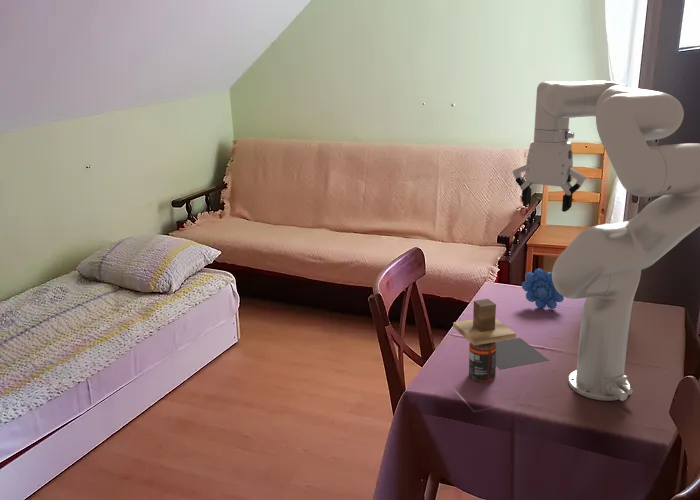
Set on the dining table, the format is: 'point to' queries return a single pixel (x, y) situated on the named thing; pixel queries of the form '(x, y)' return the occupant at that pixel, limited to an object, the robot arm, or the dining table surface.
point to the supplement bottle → (482, 362)
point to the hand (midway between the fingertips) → (545, 207)
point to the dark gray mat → (516, 354)
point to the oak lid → (484, 325)
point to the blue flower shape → (541, 289)
